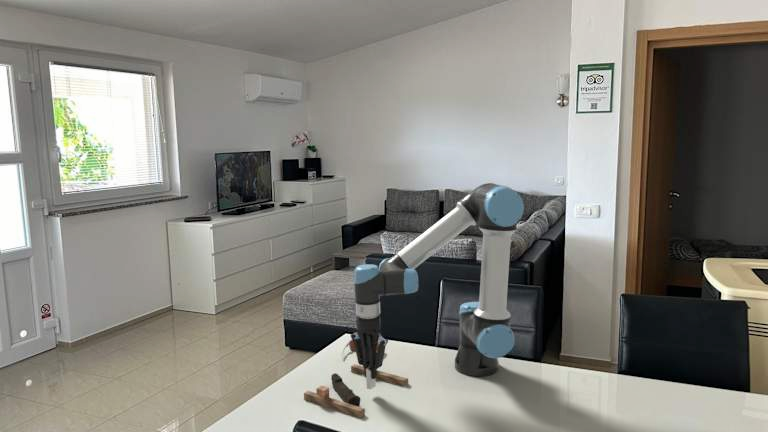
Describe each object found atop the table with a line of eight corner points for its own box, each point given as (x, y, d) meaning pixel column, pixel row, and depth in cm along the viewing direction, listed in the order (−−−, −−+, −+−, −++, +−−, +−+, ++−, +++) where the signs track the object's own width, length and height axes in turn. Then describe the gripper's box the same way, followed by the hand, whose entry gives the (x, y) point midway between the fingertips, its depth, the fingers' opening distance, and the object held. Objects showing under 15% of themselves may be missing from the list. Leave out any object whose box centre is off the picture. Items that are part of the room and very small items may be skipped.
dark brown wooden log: (361, 408, 172) (360, 393, 172) (348, 410, 171) (348, 396, 170) (340, 383, 190) (340, 370, 189) (329, 385, 188) (328, 372, 187)
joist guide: (408, 384, 187) (408, 369, 187) (360, 418, 166) (359, 401, 165) (355, 369, 200) (354, 355, 199) (303, 399, 178) (302, 384, 177)
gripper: (343, 315, 177) (347, 387, 180) (378, 322, 169) (381, 397, 173) (358, 308, 183) (361, 378, 186) (392, 314, 175) (395, 387, 179)
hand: (371, 387), depth 180 cm, fingers closed
